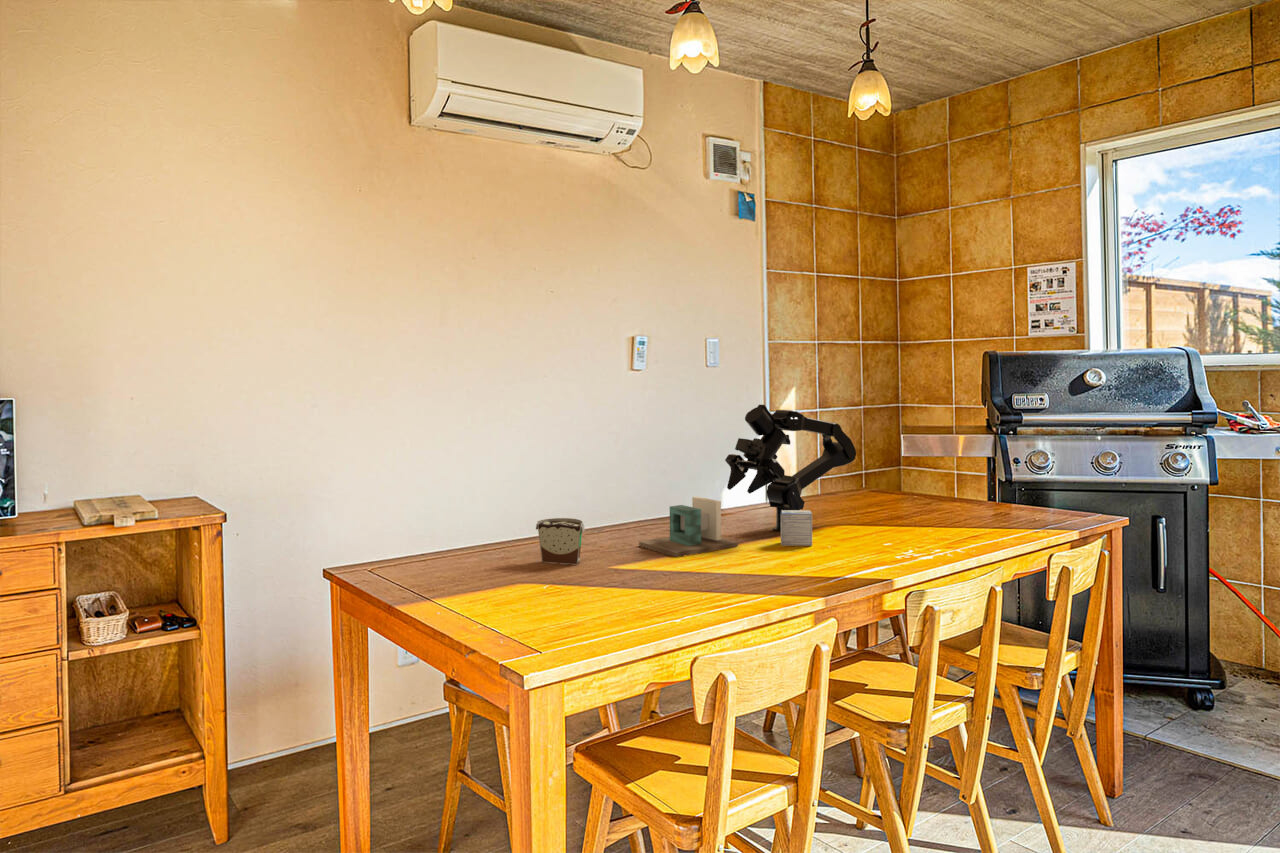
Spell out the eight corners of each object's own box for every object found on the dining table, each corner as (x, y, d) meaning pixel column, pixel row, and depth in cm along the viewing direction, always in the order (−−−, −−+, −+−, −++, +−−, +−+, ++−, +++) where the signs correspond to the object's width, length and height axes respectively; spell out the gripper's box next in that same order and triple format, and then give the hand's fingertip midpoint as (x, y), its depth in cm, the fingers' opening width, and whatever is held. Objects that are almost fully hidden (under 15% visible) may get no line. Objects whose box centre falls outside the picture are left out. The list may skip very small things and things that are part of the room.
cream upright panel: (696, 533, 229) (696, 496, 228) (721, 539, 220) (720, 501, 220) (673, 537, 224) (673, 499, 223) (697, 543, 216) (697, 504, 215)
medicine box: (810, 542, 224) (810, 510, 223) (812, 546, 219) (812, 513, 218) (780, 542, 224) (780, 509, 224) (781, 546, 220) (781, 512, 219)
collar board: (699, 536, 233) (699, 499, 232) (738, 546, 220) (738, 507, 219) (639, 546, 222) (638, 507, 221) (676, 557, 209) (675, 516, 208)
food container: (593, 559, 207) (592, 519, 206) (583, 565, 201) (582, 523, 200) (547, 556, 211) (546, 516, 210) (536, 562, 205) (535, 521, 205)
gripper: (729, 425, 239) (699, 468, 233) (776, 429, 223) (745, 475, 218) (751, 451, 244) (722, 493, 238) (798, 456, 228) (768, 502, 223)
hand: (738, 490), depth 229 cm, fingers open, 8 cm apart
